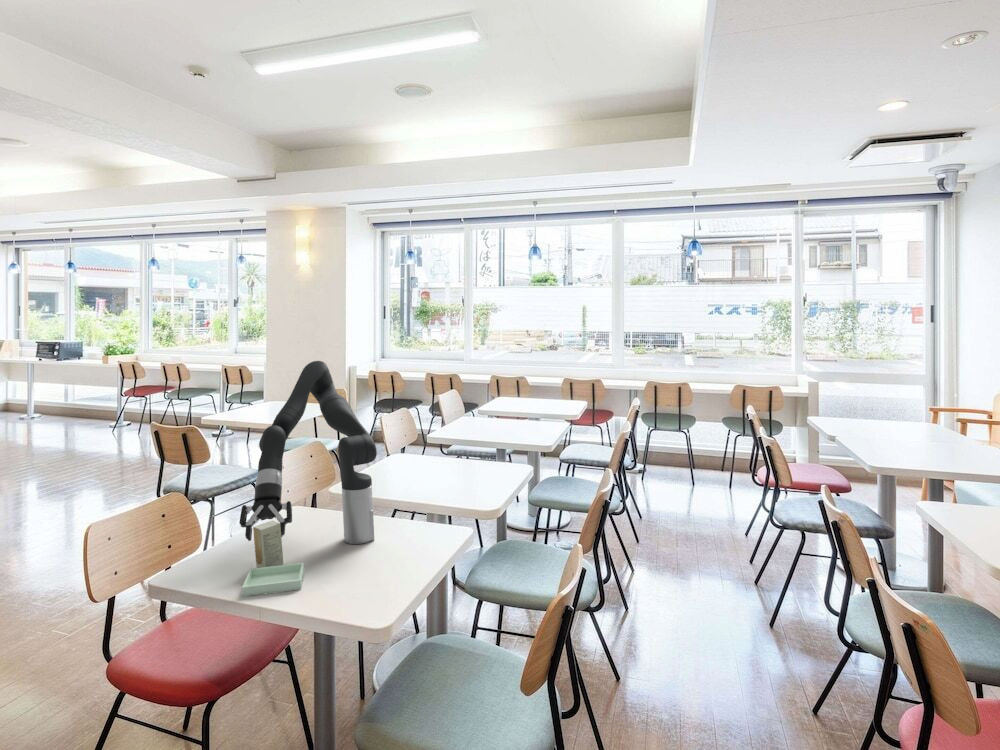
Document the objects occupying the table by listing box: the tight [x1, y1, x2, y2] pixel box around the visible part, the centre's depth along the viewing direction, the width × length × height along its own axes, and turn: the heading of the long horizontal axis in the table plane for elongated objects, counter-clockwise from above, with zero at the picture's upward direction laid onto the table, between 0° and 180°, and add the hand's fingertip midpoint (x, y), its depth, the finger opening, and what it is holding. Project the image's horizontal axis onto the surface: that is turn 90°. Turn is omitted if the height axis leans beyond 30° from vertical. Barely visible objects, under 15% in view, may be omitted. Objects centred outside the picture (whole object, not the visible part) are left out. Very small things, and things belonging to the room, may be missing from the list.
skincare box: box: [252, 520, 284, 568], centre depth 162 cm, size 6×4×12 cm
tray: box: [242, 562, 305, 597], centre depth 151 cm, size 14×11×2 cm
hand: (264, 538), depth 165 cm, fingers open, 8 cm apart
